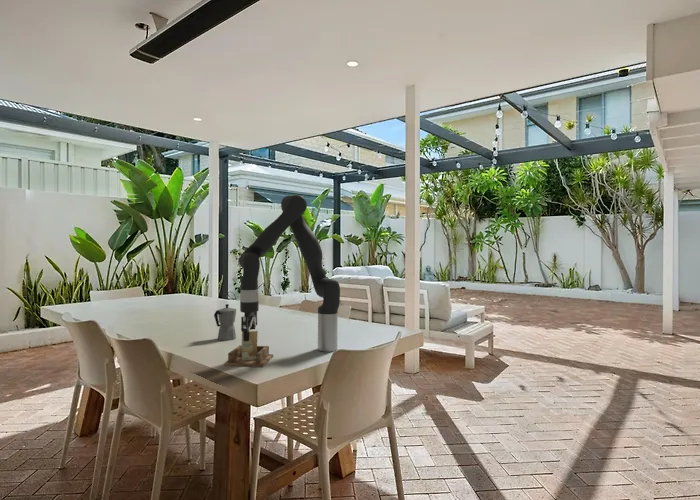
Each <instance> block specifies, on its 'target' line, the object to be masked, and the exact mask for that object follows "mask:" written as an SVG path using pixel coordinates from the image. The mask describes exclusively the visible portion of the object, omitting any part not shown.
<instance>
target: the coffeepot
mask: <svg viewBox="0 0 700 500" xmlns="http://www.w3.org/2000/svg"><path fill="white" fill-rule="evenodd" d="M236 315H237V308H233V307H229V304H225V307H223V308H220V309H218V310H215V312H214V314H213V317H214V320H215V323H216V327H219V328H218V334H217V340H218V341H221V342H222V341H223V342H224V341H225V342H227V341H233V340H236V339H237V334H236V329H235V326H234V325H235V324H234V323H235V322H236Z"/></svg>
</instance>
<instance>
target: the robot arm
mask: <svg viewBox="0 0 700 500" xmlns="http://www.w3.org/2000/svg"><path fill="white" fill-rule="evenodd" d="M307 202H308V201H307V200H306V198H305V197H304V196H302V195H299V194H290V195H286V196H284V197H283V198H282V199H281V203H280V208H281V210H282V212H281V214H280V215H279V216H278V217H277V218H276V219H275V220H274V221H273V222H271V223H270V224H268V226H266V227H265V229H263V230H262V232H261V233H260V234H259V235H258V236H257V238H256V239H255V240H254V242H253V243H252V244H250V245H249V246H248V247H247V248H246V249H245V250H244V251H243V252H242V253H241V255H240V256H239V257H238V258H239V259H238V264H239V266H240V267H241V268H242V276H241V277H240V293H239V301H240V302H239V311H240V312H241V313H244V316H241V320H240V321H241V323H240V324H241V325H240V326H241V327H240V331H241V332H242V331H243V337H244V341H249V330H250V329H256V328H257V326H258V312H259V311H260V310H259V305H260V304H259V301H260V300H259V298H260V297H259V283H258V282H259V280H258V278H259V273H260V266H261V260H260V258H261V257H262V256H263V255H265V254H267V253H268V251H269V250H270V249H272V247H273V246H274V244H275V243H276V242H277V241H278V239H279V238H280V237H281V236H282V234H283V233H284V232H286V230H287V229H288V228H289V227H291V230H292V232H293V235H294V238H295V240H296V243H297V246H298V249H299V252H300V254H301V256H302V258H303V259H304V263H305V265H306V268H307V271H308V272H309V276H310V280H311V282H312V285H313V288H314V291H315V293H316V295H317V296H318V297H320V298H322V304H321V305H319V306H318V308H317V351H320V352H325V353H326V352H327V353H329V352H330V353H331V352H335V350H336V351H337V350H338V321H339V320H338V312H339V311H338V310H339V307H340V303H341V301H340V300H341V287H340V286H341V285H340V283H339V282H338V280H336V279H332V278H328V277H327V276H326V273H325V270H324V267H323V251H322V247H321V245H320V241H319V239H318V238H317V236H316V234H315V233H314V231H312V229H311V228H310V227H309V225H308V224H307V222H306V220H305V218H304V215H303V214H304V213H305V212H306V210H307V208H308V207H307V206H308V203H307Z"/></svg>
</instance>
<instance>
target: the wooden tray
mask: <svg viewBox="0 0 700 500" xmlns="http://www.w3.org/2000/svg"><path fill="white" fill-rule="evenodd" d="M241 348H242V344H241V345H238V346H237V347H235V348H234V349H233V350H231V351H230V352H228V354H227V361H225V362H224V366H226V367H227V366H229V367H230V366H231V367H256V368H257V367H258V368H261V367H262V368H263V367H265V366H266V365H267V364H268V363H269V362H270V361H271V359H273V358H274V354H273V353H270V352H269V351H270V347H269V345H257V354H256V360H244V361H242V359H241Z"/></svg>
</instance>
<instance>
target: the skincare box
mask: <svg viewBox="0 0 700 500" xmlns="http://www.w3.org/2000/svg"><path fill="white" fill-rule="evenodd" d="M258 332H259V331H258V329H256V328H255V329H250V330H249V341H244V337H243V331H241V345H242V348H241V359H242V361H244V360H256V354H257V346H258Z"/></svg>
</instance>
